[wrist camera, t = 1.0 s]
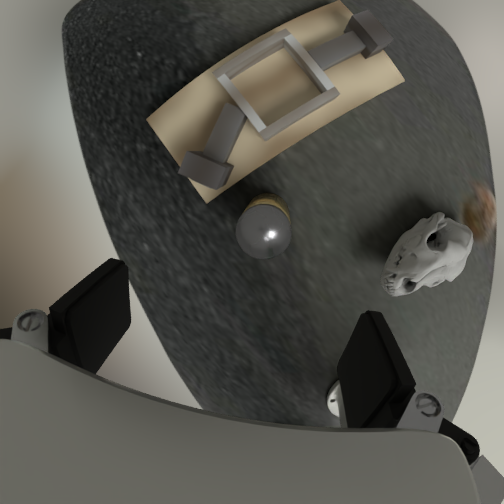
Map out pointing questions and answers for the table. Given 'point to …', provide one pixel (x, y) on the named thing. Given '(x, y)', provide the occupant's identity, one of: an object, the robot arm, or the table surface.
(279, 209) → the gold cylinder
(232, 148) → the stand
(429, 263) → the skull
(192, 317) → the table surface
